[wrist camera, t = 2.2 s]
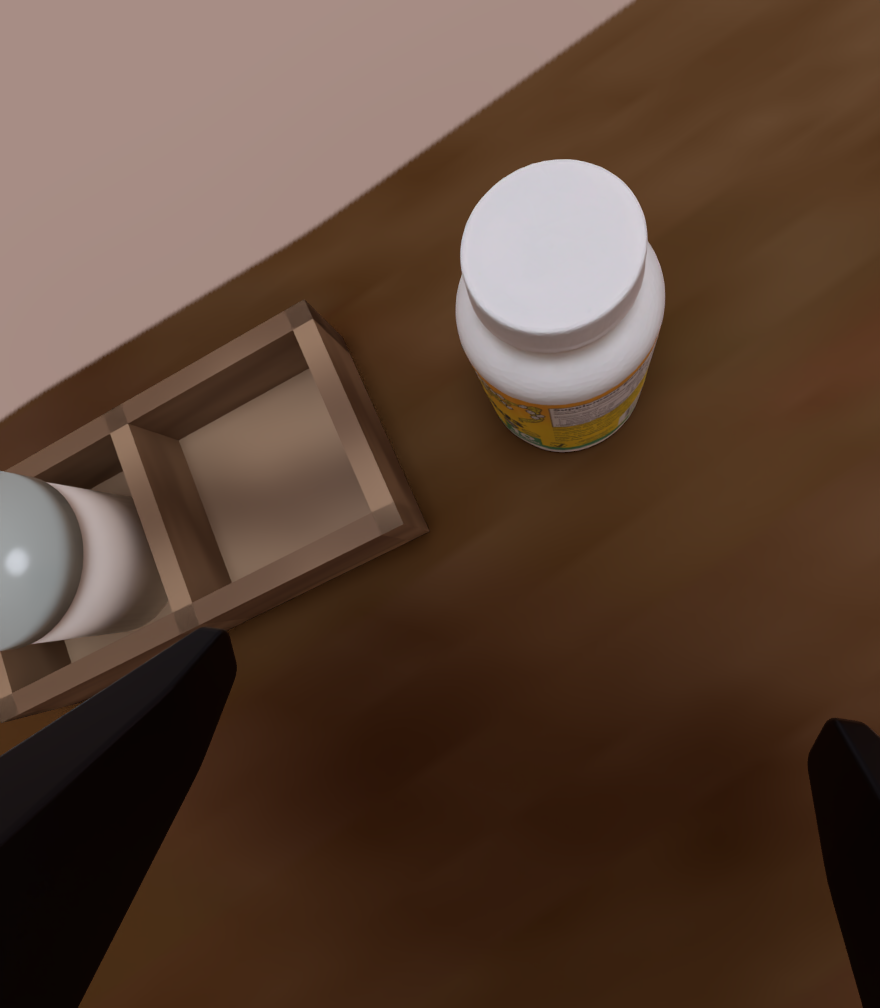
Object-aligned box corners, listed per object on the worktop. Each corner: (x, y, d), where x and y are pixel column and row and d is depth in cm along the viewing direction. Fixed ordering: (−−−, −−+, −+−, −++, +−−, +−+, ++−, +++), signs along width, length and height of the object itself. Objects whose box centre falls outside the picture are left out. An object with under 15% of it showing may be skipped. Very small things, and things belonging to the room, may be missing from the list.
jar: (201, 599, 24) (80, 607, 18) (84, 657, 25) (-67, 683, 19) (154, 470, 25) (26, 439, 19) (44, 530, 26) (-110, 518, 20)
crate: (429, 531, 23) (403, 524, 20) (78, 703, 25) (0, 723, 22) (342, 337, 25) (304, 299, 21) (20, 516, 27) (-60, 507, 24)
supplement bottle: (664, 420, 22) (729, 304, 12) (520, 476, 22) (478, 408, 13) (606, 287, 22) (625, 84, 13) (470, 346, 23) (397, 195, 14)
